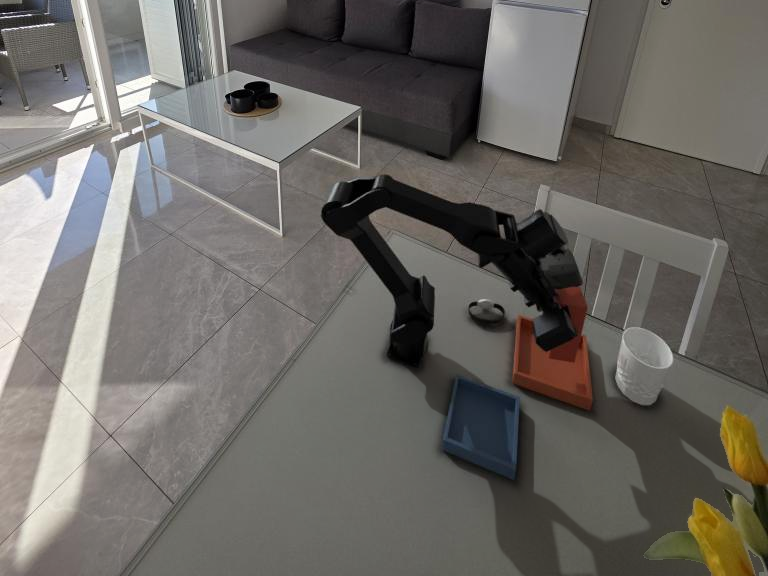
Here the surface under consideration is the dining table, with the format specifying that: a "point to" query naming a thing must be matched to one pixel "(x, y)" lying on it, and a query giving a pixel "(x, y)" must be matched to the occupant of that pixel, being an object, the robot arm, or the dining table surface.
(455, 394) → the blue tray
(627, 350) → the white cup
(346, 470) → the dining table surface
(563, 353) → the red pillar
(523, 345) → the red tray
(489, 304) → the watch
